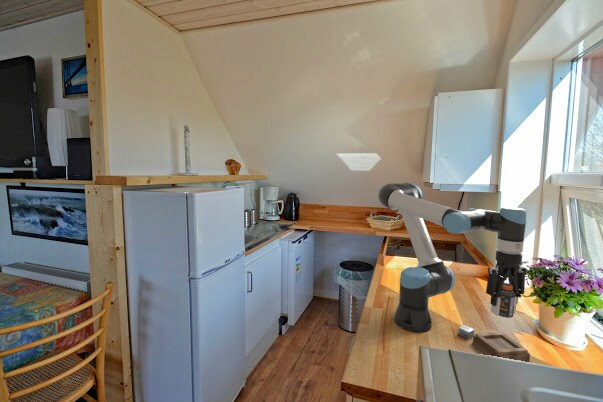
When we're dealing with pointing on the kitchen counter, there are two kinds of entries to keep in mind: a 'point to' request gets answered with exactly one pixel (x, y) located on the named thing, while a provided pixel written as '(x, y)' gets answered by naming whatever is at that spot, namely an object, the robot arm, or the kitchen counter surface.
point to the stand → (500, 346)
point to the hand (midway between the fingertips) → (502, 312)
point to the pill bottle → (507, 301)
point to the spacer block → (466, 331)
